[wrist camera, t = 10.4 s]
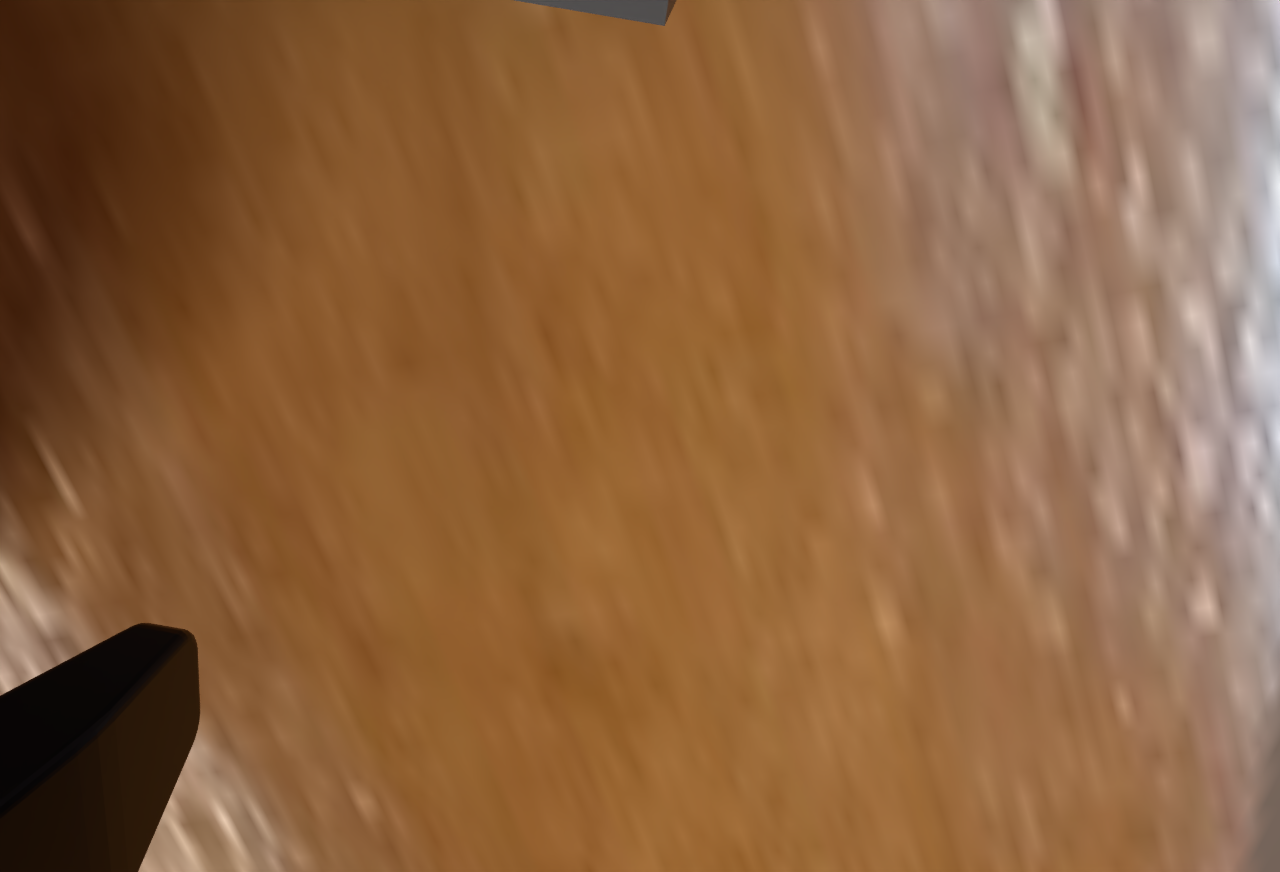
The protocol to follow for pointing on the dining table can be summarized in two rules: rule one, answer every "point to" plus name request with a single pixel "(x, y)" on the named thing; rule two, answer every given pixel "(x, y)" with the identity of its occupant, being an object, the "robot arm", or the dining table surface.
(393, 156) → the dining table surface
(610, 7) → the serving tray
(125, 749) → the robot arm
